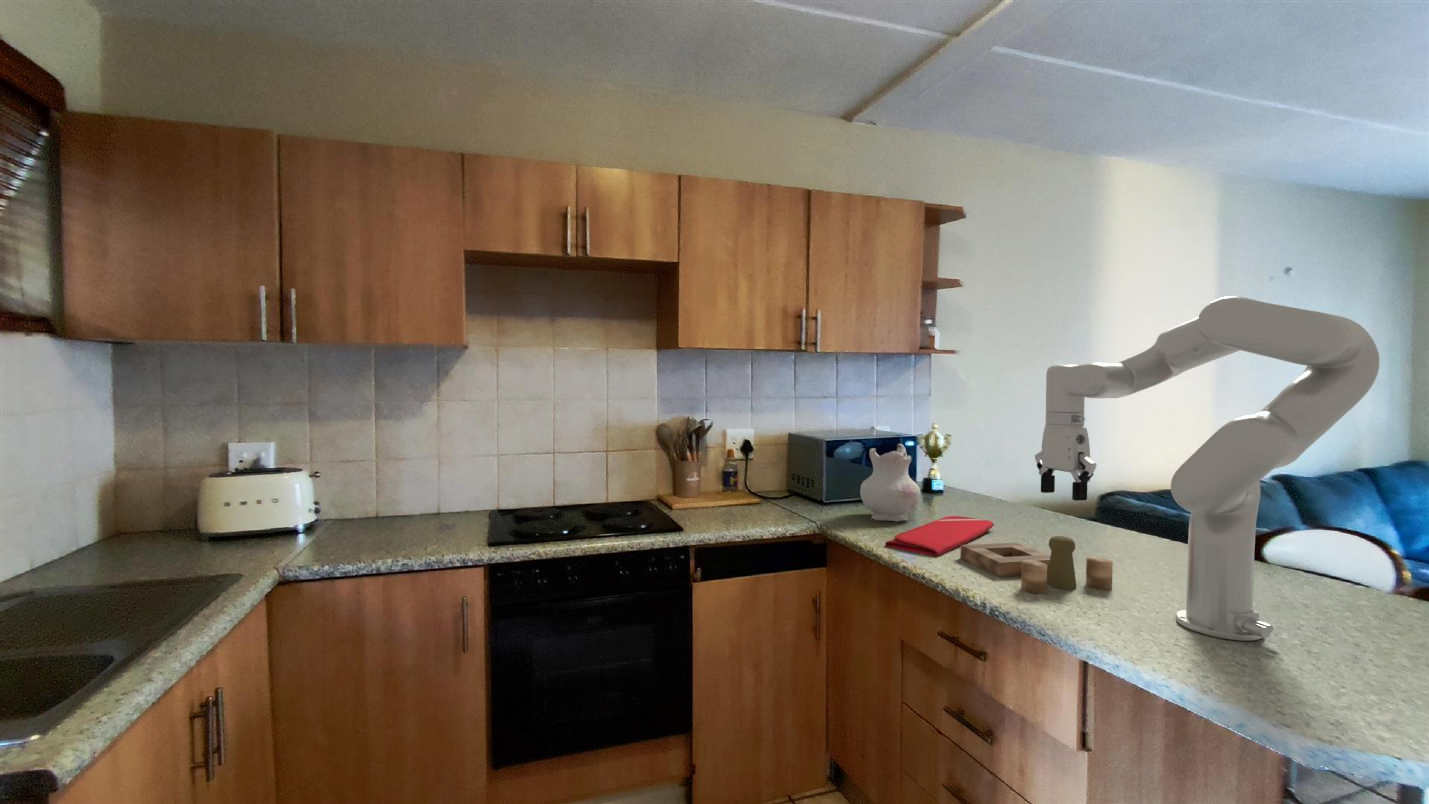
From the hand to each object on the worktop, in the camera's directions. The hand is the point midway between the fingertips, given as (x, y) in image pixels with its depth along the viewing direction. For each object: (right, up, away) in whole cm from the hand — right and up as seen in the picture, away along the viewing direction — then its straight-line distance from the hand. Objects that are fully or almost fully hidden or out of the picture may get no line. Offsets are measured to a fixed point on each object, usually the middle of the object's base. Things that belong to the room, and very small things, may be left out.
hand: (1063, 496), depth 138 cm
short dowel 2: (+8, -20, 0) cm, 22 cm away
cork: (0, -20, 0) cm, 20 cm away
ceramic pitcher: (-19, -18, +71) cm, 75 cm away
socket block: (-5, -20, +15) cm, 25 cm away
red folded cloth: (-11, -20, +43) cm, 48 cm away
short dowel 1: (-8, -20, -3) cm, 22 cm away
